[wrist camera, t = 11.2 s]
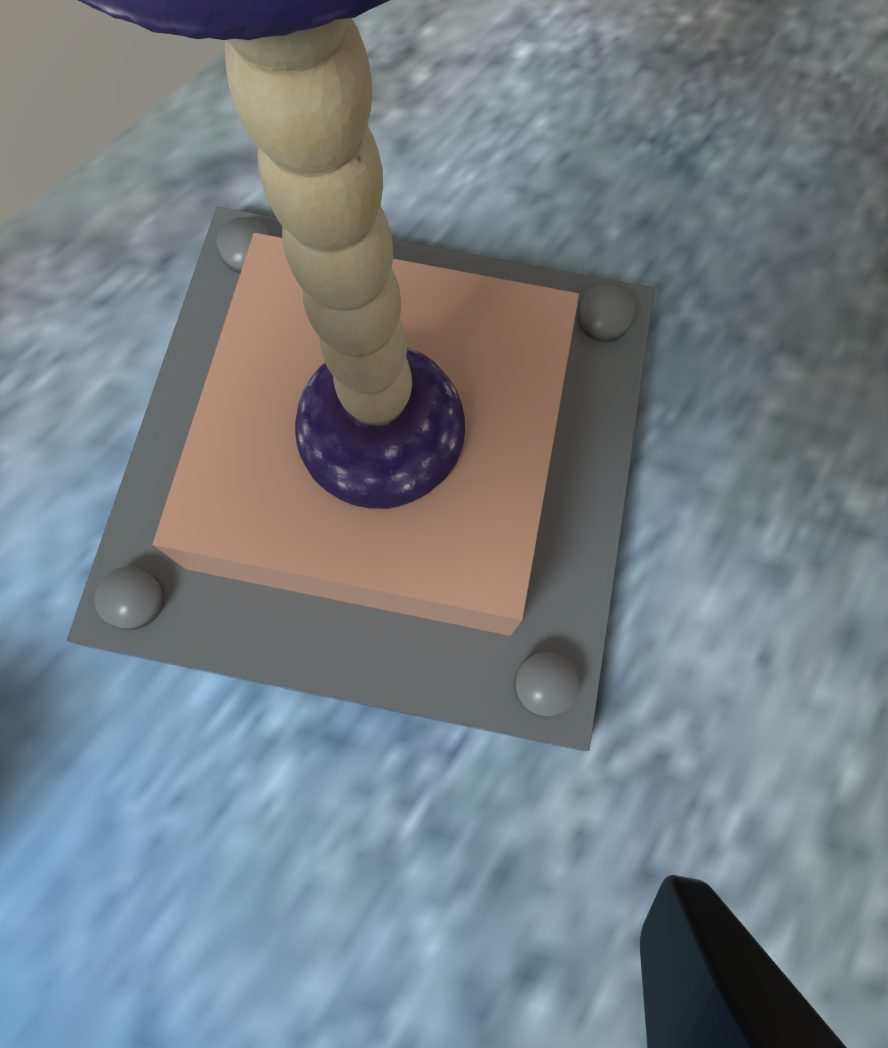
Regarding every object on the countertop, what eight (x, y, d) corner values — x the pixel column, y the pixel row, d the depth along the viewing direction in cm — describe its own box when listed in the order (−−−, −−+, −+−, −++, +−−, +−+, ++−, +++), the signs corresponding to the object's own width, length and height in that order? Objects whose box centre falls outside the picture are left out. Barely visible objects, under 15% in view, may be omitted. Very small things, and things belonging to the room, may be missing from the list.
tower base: (581, 750, 20) (613, 751, 17) (82, 646, 21) (14, 625, 17) (646, 306, 24) (681, 232, 21) (224, 227, 25) (192, 143, 21)
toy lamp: (252, 478, 19) (-899, -1143, 3) (311, 317, 20) (-214, -1458, 4) (439, 529, 18) (467, -947, 2) (487, 362, 20) (728, -1358, 4)
